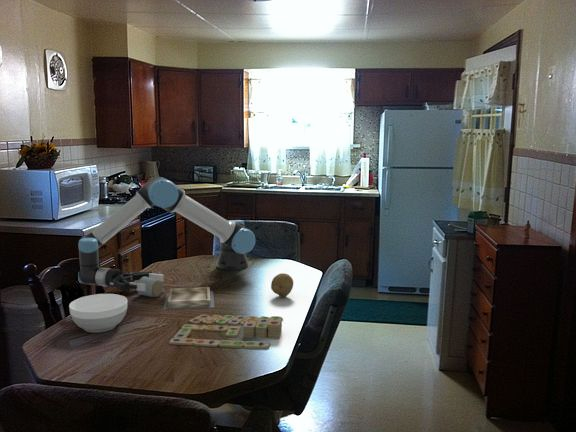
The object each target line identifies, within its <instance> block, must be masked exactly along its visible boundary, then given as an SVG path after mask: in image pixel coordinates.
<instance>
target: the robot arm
mask: <svg viewBox="0 0 576 432" xmlns="http://www.w3.org/2000/svg"><path fill="white" fill-rule="evenodd" d="M153 206H156V207H159V208H161V209H163V210H165V211H166V212H169V213H170V214H171V213H177V214H179V215H181V216H182V217H184V218H186V219H187V220H189V221H190V222H192V223H194V224H195V225H198V226H199V227H201V228H202V229H204V230H206V231H207V232H209V233H210V234H212V235H214V236H216V237H217V238H219V243H220V249H219V250H220V251H219V255H218V257H217V261H216V268H218V269H220V270H225V271H237V270H238V271H239V270H243V269H246V268H247V267H248V266H249V261H248V258H247V256H246V254H248V253H250V252H251V251H252V250H253V249H254V248H255V245H256V236H255V234H254V232H253V231H252V230H251V229H249V228H247V227H245V221H244V220H241V219H235V220H234V219H230V220H228V219H225V218H224V217H222V216H220V215H219V214H218V213H216V212H214V211H213V210H211V209H209V208H208V207H207V206H205V205H203V204H201V203H199V202H198V201H196V200H195V199H193V198H191V197H190V196H188V195H186V191H185V190H184V188H181V187H179V186H178V185H176V184H175V183H174V182H172V181H171V180H169V179H167V178H165V177H162V176H155V177H152V178H151V179H149V180H148V181H147V182H146V183H145V184H144V185H143V186H141V188H139V189H138V190H137V191H136V192H135V195H134V196H133V197H132V198H131V199H130V200H128V201H127V202H126V203H125V204H123V205H122V206H121V207H120V208H119V209H117V210H116V211H114V213H112V214H111V215H110V216H109V217H108V218H106V219H105V220H103V222H101V223H100V224H99V225H98V226H96V227H95V228H94V229H93V230H92V231H90V232H89V233H88V234H87V235H83V236H82V237H81V238H80V239H79V240H78V243H77V246H78V254H79V255H78V256H79V266H80V271H79V272H78V281H79V283H80V284H84V285H90V286H92V285H94V286H99V287H100V286H101V287H103V288H106V287H108V288H116V289H118V290H119V291H122V292H130V290H132V291H137V290H140V291H146V288H145V284H142V283H138V282H135V281H139V280H140V279H141V278H142V277H149V278H153V279H157V280H159V281H161V282H164V281H165V279H164V277H165V275H164V274H163V273H162V274H160V273H153V272H152V271H151V270H149V271H128V272H126V273H124V272H122V271H121V270H120V269H118V268H109V267H100V262H99V261H100V260H99V257H100V256H99V248H101V247H102V246H103V245H104V244H105V243H106V242H108V241H109V240H110V239H111V238H112V237H114V236H115V235H116V234H118V233H119V232H120V231H121V230H122V229H124V228H125V227H126V226H127V225H129V224H130V223H131V222H132V221H134V220H135V219H136V218H137V217H138V216H140V214H141V213H144V211H146V210H147V209H152V208H153ZM79 283H78V284H79Z"/></svg>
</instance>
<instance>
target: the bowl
mask: <svg viewBox="0 0 576 432" xmlns="http://www.w3.org/2000/svg"><path fill="white" fill-rule="evenodd" d="M68 308H69V314H70V317H71V319H72V321H73V322H74V324H75V325H77V327H79V328H80V329H83V330H84V331H85V332H88V333H104V332H107V331H111V330H113V329H115V328H116V327H117V325H118V324H120V323H121V322H122V321H123V319H124V317H125V316H126V314H127V310H128V298H127V296H124V295H122V294H121V295H120V294H115V293H97V294H91V295H86V296H81V297H79V298H77V299H74V300H73V301H71V302H70V303H69V305H68Z"/></svg>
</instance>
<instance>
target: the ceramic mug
mask: <svg viewBox="0 0 576 432" xmlns="http://www.w3.org/2000/svg"><path fill="white" fill-rule="evenodd" d="M137 283H142V284H145V288H146V291H140V290H136V292H137V294H138V295H139V296H143V297H149V298H158V297H159V296H161V295H162V293H164V292H165V288H164V286H163V281H159V280H157V279H153V278H149V277H142V278H141V279H140V280H138V282H137Z"/></svg>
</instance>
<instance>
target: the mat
mask: <svg viewBox="0 0 576 432" xmlns="http://www.w3.org/2000/svg"><path fill="white" fill-rule="evenodd" d="M168 297H169V292H166V295H165V301H164V305H163V311H166V310H167V311H168V310H187V309H189V310H190V309H206V308H207V309H210V308H215V297H214V290H210V306H193V307H172V308H168Z"/></svg>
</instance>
